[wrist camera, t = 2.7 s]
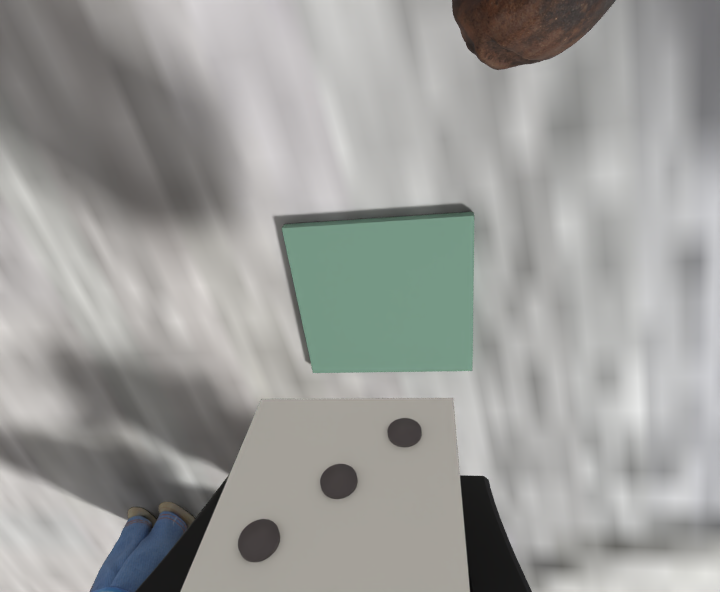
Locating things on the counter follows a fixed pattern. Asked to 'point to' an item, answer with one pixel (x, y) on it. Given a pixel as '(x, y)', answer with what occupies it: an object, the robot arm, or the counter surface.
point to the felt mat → (385, 292)
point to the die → (340, 501)
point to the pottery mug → (524, 27)
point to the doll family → (141, 547)
